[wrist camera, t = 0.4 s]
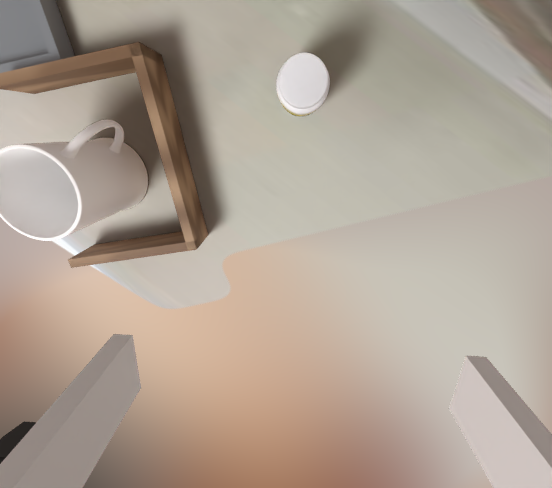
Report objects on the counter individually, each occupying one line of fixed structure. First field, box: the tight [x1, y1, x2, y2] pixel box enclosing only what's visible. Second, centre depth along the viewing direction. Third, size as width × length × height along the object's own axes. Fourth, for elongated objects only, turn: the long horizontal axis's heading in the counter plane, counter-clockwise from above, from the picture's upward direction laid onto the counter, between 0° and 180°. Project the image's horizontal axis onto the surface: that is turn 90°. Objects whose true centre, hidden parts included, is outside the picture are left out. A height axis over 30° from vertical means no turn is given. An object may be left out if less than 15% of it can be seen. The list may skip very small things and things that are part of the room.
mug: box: [0, 120, 148, 241], centre depth 30 cm, size 12×8×12 cm
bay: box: [0, 42, 208, 268], centre depth 33 cm, size 20×15×5 cm
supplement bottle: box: [276, 52, 330, 116], centre depth 28 cm, size 5×5×8 cm
